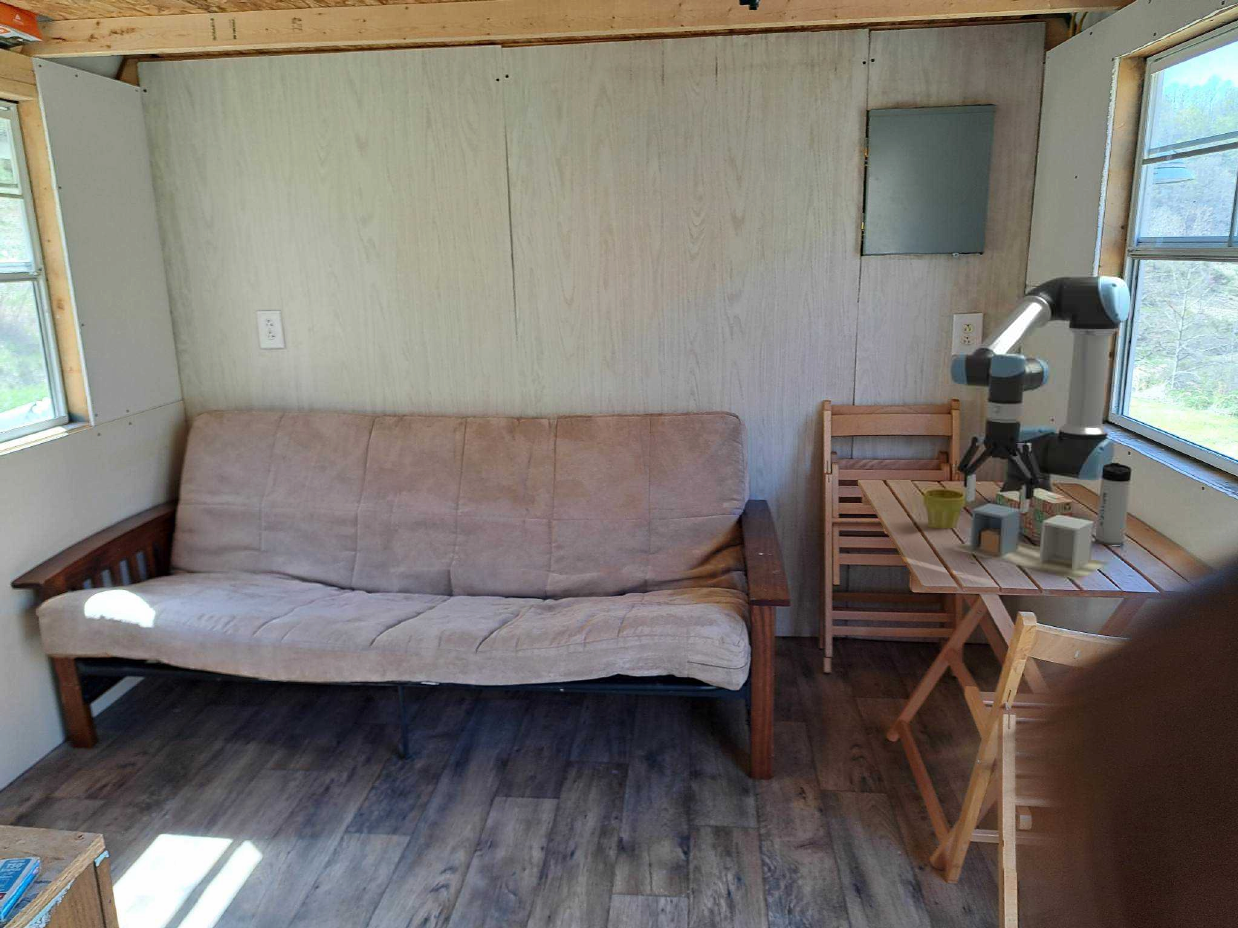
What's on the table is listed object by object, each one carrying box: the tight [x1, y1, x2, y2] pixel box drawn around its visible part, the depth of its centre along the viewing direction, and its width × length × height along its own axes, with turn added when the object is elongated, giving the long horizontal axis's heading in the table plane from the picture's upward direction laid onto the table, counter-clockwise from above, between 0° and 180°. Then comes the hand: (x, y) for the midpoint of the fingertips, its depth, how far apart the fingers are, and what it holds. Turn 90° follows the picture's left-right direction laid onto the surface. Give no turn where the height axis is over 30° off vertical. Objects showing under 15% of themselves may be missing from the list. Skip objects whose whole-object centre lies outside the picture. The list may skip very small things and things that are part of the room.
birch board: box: [952, 540, 1109, 581], centre depth 210 cm, size 16×30×1 cm, turn 40°
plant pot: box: [923, 488, 966, 530], centre depth 234 cm, size 10×10×10 cm
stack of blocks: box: [995, 488, 1075, 543], centre depth 226 cm, size 21×6×12 cm, turn 13°
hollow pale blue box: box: [970, 502, 1021, 557], centre depth 214 cm, size 8×8×10 cm
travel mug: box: [1094, 462, 1132, 547], centre depth 218 cm, size 6×7×20 cm
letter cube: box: [981, 528, 1001, 553], centre depth 215 cm, size 4×4×5 cm
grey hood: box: [1039, 515, 1094, 571], centre depth 203 cm, size 8×8×10 cm
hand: (996, 506), depth 213 cm, fingers open, 13 cm apart
